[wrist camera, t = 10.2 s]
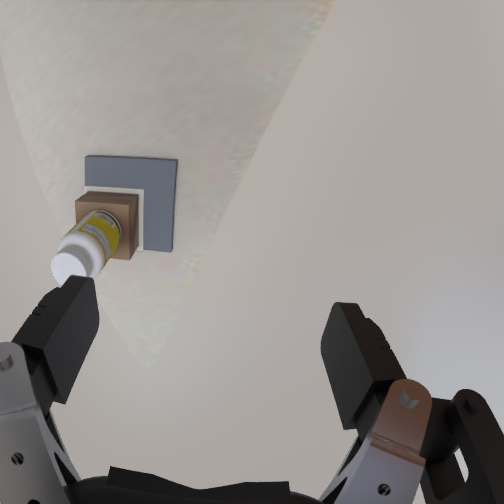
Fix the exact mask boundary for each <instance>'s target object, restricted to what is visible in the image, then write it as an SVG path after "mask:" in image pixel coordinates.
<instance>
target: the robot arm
mask: <svg viewBox="0 0 504 504" xmlns="http://www.w3.org/2000/svg"><path fill="white" fill-rule="evenodd" d="M98 327H99V311H98V305H97V298H96V291H95V284H94V280H93V278H91V277H85V276H78V275H70V276H69V277H68V279H67V280H66V281H65V283H64V284H63V285H62V287H61V288H59V287H56V288H55V289H53V290H52V291H50V292H49V293H47V294H46V295H45V296H44V297H43V298H42V300H41V301H40V302H39V304H38V306H37V307H35V309H34V310H33V312H32V314H30V316H29V317H28V318H27V320H26V321H25V322H24V324H23V325H22V327H21V328H20V330H19V331H18V332H17V334H16V335H15V337H14V338H13V340H12V341H11V342H1V343H0V503H1V504H412V502H413V500H414V497H415V494H416V491H417V488H418V485H419V482H420V484H421V488H422V492H423V495H424V499H425V502H426V504H504V434H503V432H502V431H501V429H500V427H499V425H498V423H497V421H496V419H495V417H494V415H493V413H492V411H491V409H490V408H489V406H488V404H487V402H486V400H485V399H484V398H483V397H482V396H481V395H480V394H478V393H477V392H475V391H473V390H470V389H462V390H460V391H458V392H457V393H456V395H455V396H454V397H453V399H452V400H446V399H439V398H433V397H431V395H430V393H429V391H428V390H427V389H426V388H425V387H424V386H423V385H421V384H420V383H418V382H416V381H414V380H411V379H407V378H406V376H405V374H404V372H403V370H402V368H401V366H400V364H399V362H398V360H397V358H396V356H395V355H394V353H393V351H392V349H390V345H389V343H388V342H387V340H386V338H385V336H384V334H383V332H382V331H381V329H380V328H379V326H377V325H376V324H375V323H374V322H373V321H372V320H371V319H370V318H365V316H364V315H363V313H362V311H361V309H360V307H359V305H358V304H356V303H342V302H336V303H334V305H333V306H332V309H331V312H330V315H329V318H328V321H327V324H326V327H325V330H324V333H323V336H322V340H321V355H322V358H323V361H324V364H325V368H326V371H327V374H328V378H329V381H330V384H331V388H332V391H333V395H334V398H335V401H336V404H337V408H338V412H339V415H340V418H341V422H342V425H343V429H344V430H348V429H357V431H358V436H357V437H356V439H355V440H354V442H353V444H352V446H351V448H350V450H349V452H348V454H347V455H346V457H345V459H344V461H343V463H342V464H341V466H340V468H339V470H338V471H337V473H336V475H335V477H334V478H333V480H332V482H331V483H330V484H329V486H328V487H327V489H326V490H325V491H324V493H323V494H322V495H321V497H320V498H319V500H317V499H315V498H312V497H310V496H307V495H304V494H300V493H297V492H292V491H290V489H289V482H288V481H283V482H243V483H238V484H233V485H227V486H221V487H215V488H209V489H193V488H190V487H187V486H184V485H181V484H178V483H175V482H172V481H169V480H167V479H164V478H161V477H158V476H156V475H153V474H148V473H142V472H137V471H131V470H126V469H121V468H116V467H112V466H110V470H109V474H108V476H99V477H92V478H87V479H83V480H81V478H80V477H79V475H78V473H77V471H76V470H75V468H74V466H73V464H72V463H71V460H70V458H69V456H68V454H67V452H66V449H65V447H64V444H63V442H62V439H61V437H60V434H59V432H58V430H57V426H56V424H55V421H54V418H53V415H52V413H51V411H50V407H51V405H52V402H53V401H54V402H58V403H61V404H66V401H67V399H68V396H69V394H70V392H71V389H72V387H73V384H74V382H75V380H76V378H77V375H78V373H79V371H80V368H81V366H82V364H83V362H84V359H85V357H86V355H87V353H88V351H89V348H90V346H91V344H92V342H93V340H94V338H95V336H96V333H97V331H98ZM459 448H460V450H461V452H462V455H463V457H464V460H465V462H466V465H467V468H468V472H469V474H468V479H467V481H466V482H465V481H464V478H463V476H462V473H461V470H460V468H459V465H458V462H457V460H456V457H455V454H454V453H455V452H456V451H457V450H458V449H459Z"/></svg>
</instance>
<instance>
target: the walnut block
mask: <svg viewBox="0 0 504 504" xmlns="http://www.w3.org/2000/svg"><path fill="white" fill-rule="evenodd" d="M75 210H76V224H77V223H78V222H79V221H80V220H81V219H82V218H83V217H85V216H86V215H87V214H88V213H90V212H92V211H95V210H103V211H106V212H109V213H110V214H112V215H113V216H114V217H115V218H116V219H117V221H118V222H119V224H120V227H121V232H122V236H121V241H120V243H119V245H118V246H117V248H116V250H115V251H114V253H113V254H112V256H111V257H110V258H115V259H123V260H130V259H131V257H132V256H133V254H134V252H135V250H136V249H137V247H138V195H134V194H120V193H105V192H87V193H85V194H84V195H83V196H81V197H80V198H79V199H77V200H76V201H75Z"/></svg>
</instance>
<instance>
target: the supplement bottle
mask: <svg viewBox="0 0 504 504" xmlns="http://www.w3.org/2000/svg"><path fill="white" fill-rule="evenodd" d="M121 236H122V232H121V227H120V224H119V222H118V221H117V219H116V218H115V217H114V216H113V215H112V214H110V213H109V212H106V211H103V210H95V211H92V212H90V213H88V214H87V215H86V216H85V217H83V218H82V219H81V220H80V221H79V222H78V223H77V224H76V225H75V226H74V227H73V228H72V229H71V230H70V231H69V232H68V233H67V234H66V235H65V236H64V237H63V238H62V239H61V241H60V242H59V245H58V249H57V254H56V255H55V257H54V258H53V260H52V263H51V269H52V273H53V276H54V277H55V279H56V280H57V282H59V284H61V285H63V284H64V283H65V281H66V280H67V279H68V277H69V276H70V275H78V276H85V277H91V278H93V279H94V278H95V277H97V276H98V275H99V273H100V272H101V271H102V269H103V268H104V266H105V265H106V263H107V262H108V260H109V259H110V257H111V256H112V254H113V253H114V251H115V250H116V248H117V246H118V245H119V243H120V241H121Z"/></svg>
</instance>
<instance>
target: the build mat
mask: <svg viewBox="0 0 504 504" xmlns="http://www.w3.org/2000/svg"><path fill="white" fill-rule="evenodd" d="M176 172H177V160H172V159H158V158H141V157H121V156H86V157H85V186H84V194H85V193H87V192H105V193H120V194H134V195H138V247H137V249H136V251H143V250H152V251H162V252H172V246H173V221H174V202H175V186H176Z"/></svg>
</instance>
